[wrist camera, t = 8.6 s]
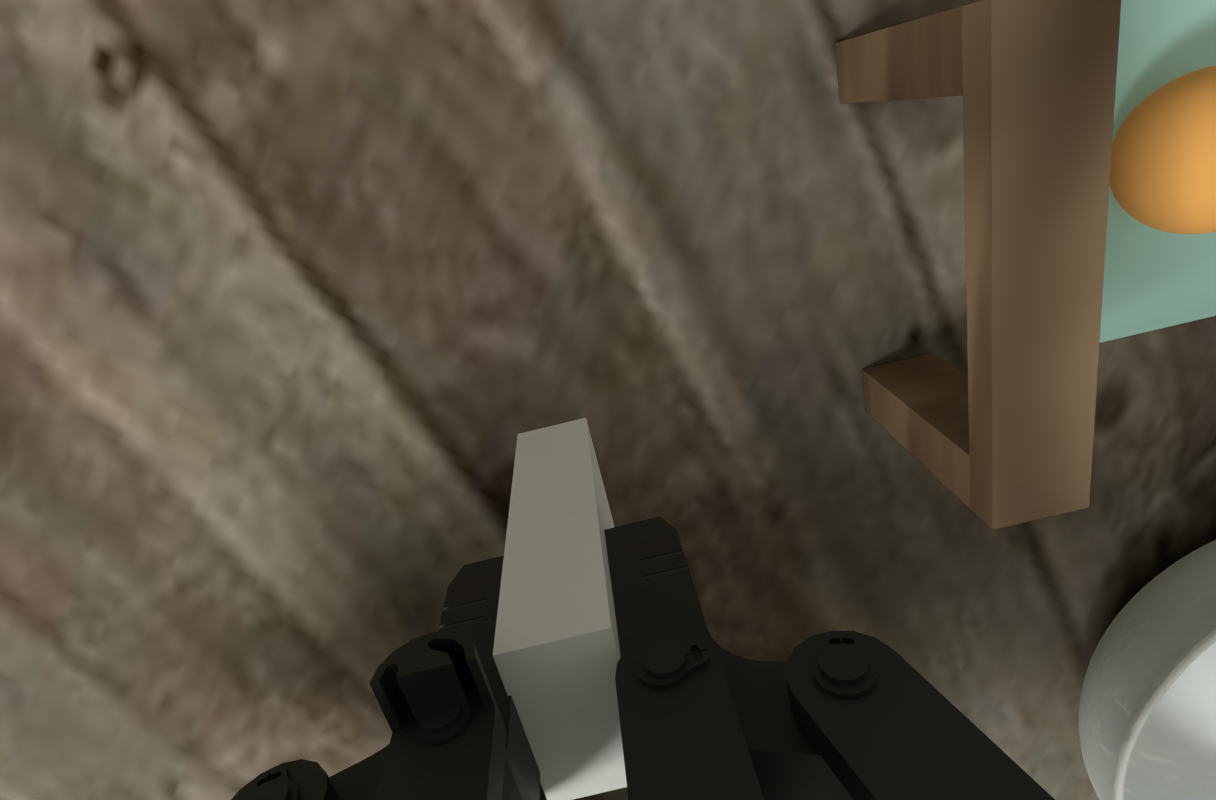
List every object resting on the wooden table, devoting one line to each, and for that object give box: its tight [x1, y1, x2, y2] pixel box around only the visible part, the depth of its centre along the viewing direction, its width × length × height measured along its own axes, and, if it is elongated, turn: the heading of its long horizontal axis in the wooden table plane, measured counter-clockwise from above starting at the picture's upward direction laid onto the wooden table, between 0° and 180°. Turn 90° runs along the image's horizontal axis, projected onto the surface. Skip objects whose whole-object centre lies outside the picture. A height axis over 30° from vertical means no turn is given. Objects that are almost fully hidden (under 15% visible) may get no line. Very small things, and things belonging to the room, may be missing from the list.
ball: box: [1110, 65, 1216, 234], centre depth 23 cm, size 6×6×6 cm
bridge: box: [835, 0, 1121, 530], centre depth 22 cm, size 3×14×9 cm, turn 13°
